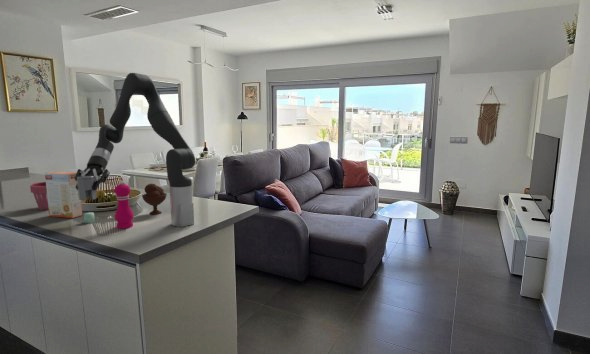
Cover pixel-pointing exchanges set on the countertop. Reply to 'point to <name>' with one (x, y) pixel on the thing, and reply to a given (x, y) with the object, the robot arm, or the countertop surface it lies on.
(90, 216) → the mint green cube
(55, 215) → the cracker box
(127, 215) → the pepper mill
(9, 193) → the countertop surface
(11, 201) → the countertop surface
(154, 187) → the ice cream bowl
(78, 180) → the charcoal cup
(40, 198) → the plant pot
